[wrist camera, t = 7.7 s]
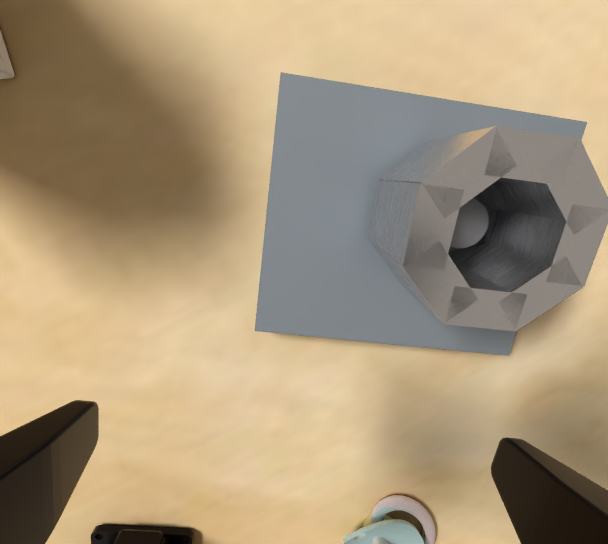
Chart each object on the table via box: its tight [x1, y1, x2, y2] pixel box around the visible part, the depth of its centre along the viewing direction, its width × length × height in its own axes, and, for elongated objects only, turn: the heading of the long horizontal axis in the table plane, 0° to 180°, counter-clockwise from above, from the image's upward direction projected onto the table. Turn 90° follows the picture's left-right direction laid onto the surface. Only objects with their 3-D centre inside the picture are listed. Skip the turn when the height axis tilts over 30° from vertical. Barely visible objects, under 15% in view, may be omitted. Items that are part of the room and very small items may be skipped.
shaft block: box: [255, 73, 587, 356], centre depth 16 cm, size 12×14×4 cm
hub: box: [368, 126, 608, 331], centre depth 13 cm, size 6×6×5 cm
